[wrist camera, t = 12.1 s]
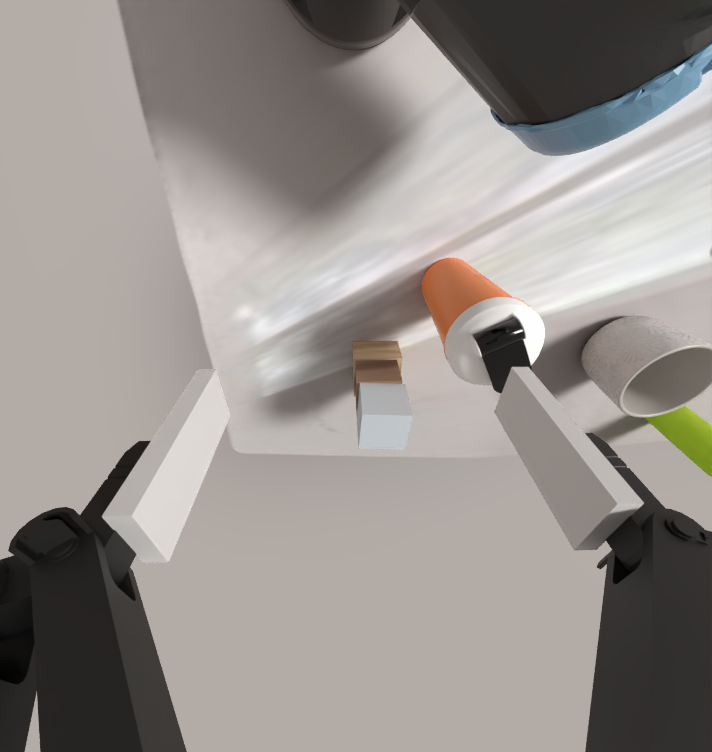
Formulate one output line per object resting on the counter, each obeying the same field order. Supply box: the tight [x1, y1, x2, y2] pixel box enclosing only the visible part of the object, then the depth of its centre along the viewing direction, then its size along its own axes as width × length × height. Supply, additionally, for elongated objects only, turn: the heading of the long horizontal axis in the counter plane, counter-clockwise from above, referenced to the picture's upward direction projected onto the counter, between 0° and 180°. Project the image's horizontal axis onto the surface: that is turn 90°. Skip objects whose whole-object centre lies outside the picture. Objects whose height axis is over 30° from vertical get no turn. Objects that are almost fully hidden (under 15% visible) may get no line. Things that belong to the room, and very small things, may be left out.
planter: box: [581, 316, 712, 417], centre depth 45 cm, size 12×12×11 cm
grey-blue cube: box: [357, 383, 413, 450], centre depth 40 cm, size 6×6×6 cm
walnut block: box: [355, 360, 402, 410], centre depth 44 cm, size 6×6×5 cm
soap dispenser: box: [644, 406, 712, 476], centre depth 51 cm, size 6×7×20 cm
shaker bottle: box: [422, 258, 545, 393], centre depth 35 cm, size 9×9×20 cm
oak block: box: [353, 341, 402, 396], centre depth 48 cm, size 7×7×5 cm
